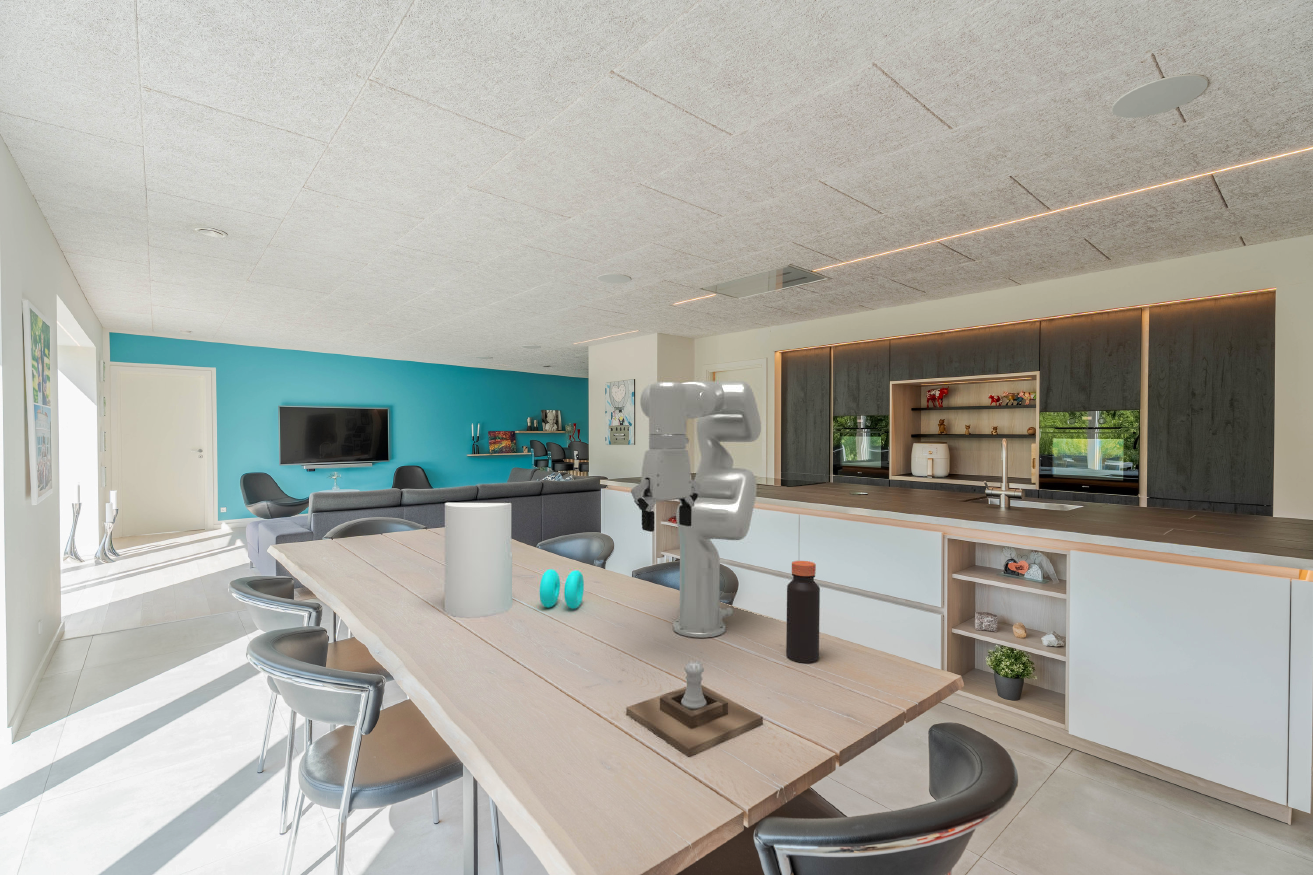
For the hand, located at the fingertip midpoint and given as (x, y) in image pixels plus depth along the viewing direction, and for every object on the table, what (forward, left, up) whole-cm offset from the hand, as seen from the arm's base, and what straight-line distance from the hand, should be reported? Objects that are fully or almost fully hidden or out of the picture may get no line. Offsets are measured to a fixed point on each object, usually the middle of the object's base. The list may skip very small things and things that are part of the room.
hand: (667, 527), depth 118 cm
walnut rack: (+10, +20, -28) cm, 36 cm away
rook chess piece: (+10, +20, -27) cm, 35 cm away
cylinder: (+16, -60, -28) cm, 68 cm away
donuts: (-2, -47, -28) cm, 55 cm away
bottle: (-26, +14, -28) cm, 41 cm away
